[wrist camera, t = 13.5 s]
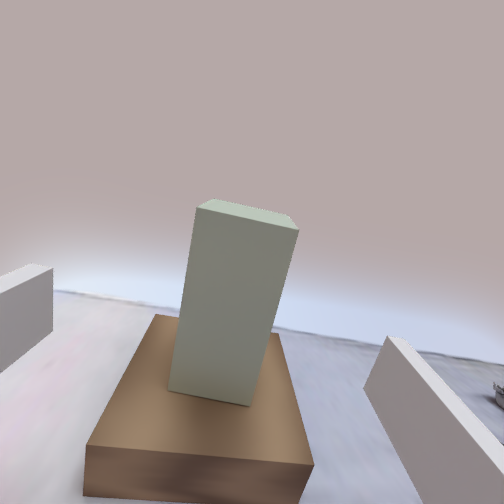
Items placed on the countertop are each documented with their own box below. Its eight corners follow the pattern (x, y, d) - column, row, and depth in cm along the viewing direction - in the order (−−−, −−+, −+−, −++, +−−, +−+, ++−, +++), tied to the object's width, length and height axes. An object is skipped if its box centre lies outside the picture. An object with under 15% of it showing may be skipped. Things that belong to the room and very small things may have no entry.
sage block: (251, 351, 20) (287, 215, 17) (250, 406, 15) (299, 230, 12) (189, 339, 20) (213, 198, 17) (167, 390, 15) (196, 207, 12)
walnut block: (267, 368, 25) (278, 333, 24) (292, 515, 14) (314, 465, 13) (150, 352, 23) (155, 313, 22) (82, 502, 13) (86, 444, 12)
